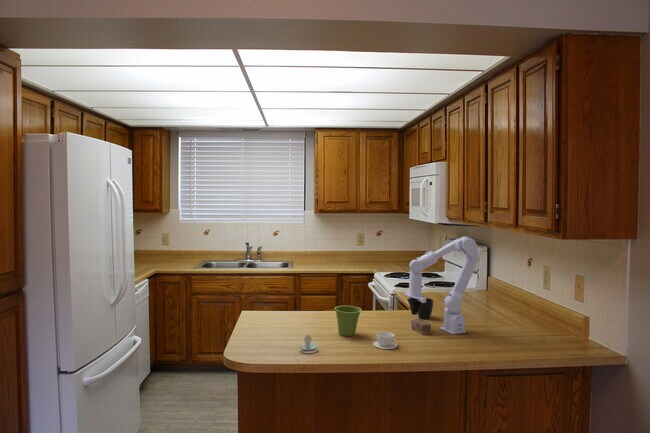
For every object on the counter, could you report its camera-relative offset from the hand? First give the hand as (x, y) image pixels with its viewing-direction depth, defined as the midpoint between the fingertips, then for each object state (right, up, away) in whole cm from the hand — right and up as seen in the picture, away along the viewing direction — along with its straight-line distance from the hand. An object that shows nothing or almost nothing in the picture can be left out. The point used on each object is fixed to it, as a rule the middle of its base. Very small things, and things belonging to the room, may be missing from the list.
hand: (414, 314), depth 195 cm
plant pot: (-32, -6, -11) cm, 35 cm away
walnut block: (0, -4, -1) cm, 4 cm away
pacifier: (-48, -7, -34) cm, 59 cm away
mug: (+8, -6, +19) cm, 22 cm away
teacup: (-17, -7, -24) cm, 31 cm away
